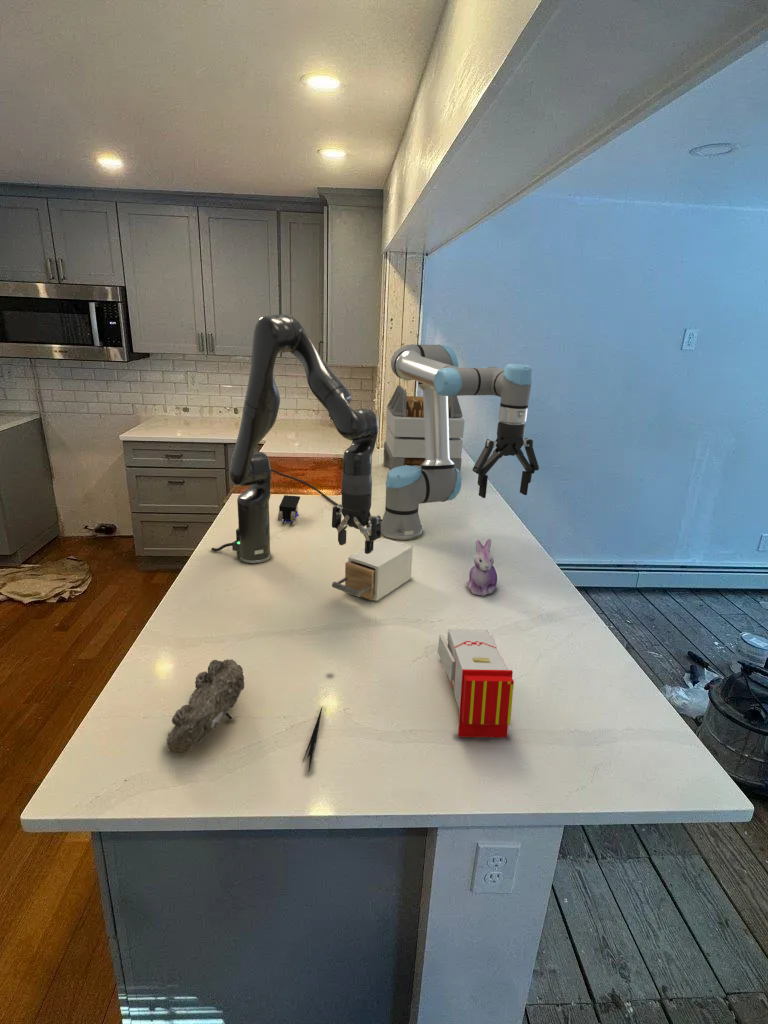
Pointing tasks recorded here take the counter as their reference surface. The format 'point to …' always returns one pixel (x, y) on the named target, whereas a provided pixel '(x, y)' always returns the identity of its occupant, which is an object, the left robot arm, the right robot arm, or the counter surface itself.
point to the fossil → (206, 705)
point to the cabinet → (387, 565)
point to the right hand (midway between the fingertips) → (502, 495)
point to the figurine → (483, 571)
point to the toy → (478, 682)
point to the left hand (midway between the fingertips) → (355, 548)
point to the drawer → (357, 580)
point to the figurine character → (288, 509)
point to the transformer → (417, 431)
